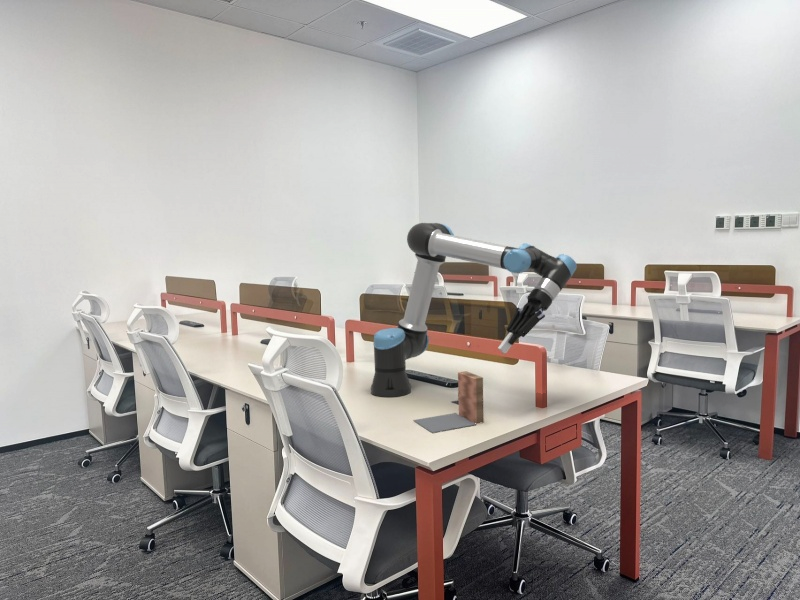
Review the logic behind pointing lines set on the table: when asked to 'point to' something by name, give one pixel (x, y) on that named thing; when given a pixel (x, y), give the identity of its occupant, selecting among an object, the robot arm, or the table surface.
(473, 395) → the mottled brown tile
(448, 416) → the felt mat
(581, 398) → the table surface
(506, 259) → the robot arm
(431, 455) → the table surface
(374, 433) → the table surface
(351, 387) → the table surface
